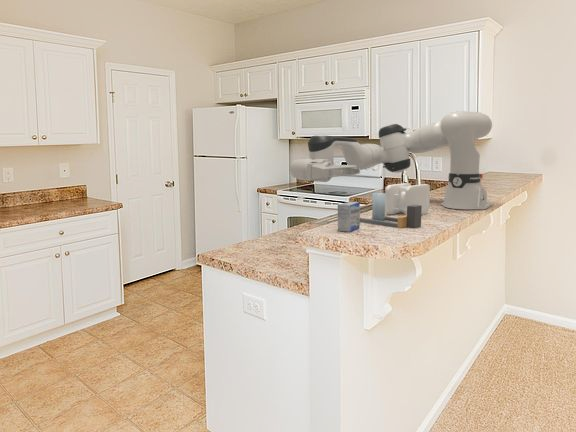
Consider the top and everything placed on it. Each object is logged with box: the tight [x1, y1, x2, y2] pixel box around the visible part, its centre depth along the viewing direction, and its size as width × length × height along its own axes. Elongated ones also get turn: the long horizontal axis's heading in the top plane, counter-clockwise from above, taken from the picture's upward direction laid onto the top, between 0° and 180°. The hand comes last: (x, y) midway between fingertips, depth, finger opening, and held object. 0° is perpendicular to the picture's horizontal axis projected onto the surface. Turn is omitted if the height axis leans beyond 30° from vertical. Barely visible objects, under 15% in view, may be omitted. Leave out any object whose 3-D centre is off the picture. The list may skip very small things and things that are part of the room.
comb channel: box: [360, 205, 422, 229], centre depth 159 cm, size 10×20×7 cm, turn 44°
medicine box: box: [337, 201, 361, 233], centre depth 150 cm, size 8×4×9 cm, turn 148°
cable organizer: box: [384, 182, 431, 216], centre depth 177 cm, size 15×11×12 cm
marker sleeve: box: [371, 192, 386, 221], centre depth 162 cm, size 4×4×10 cm
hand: (351, 172), depth 169 cm, fingers open, 8 cm apart
